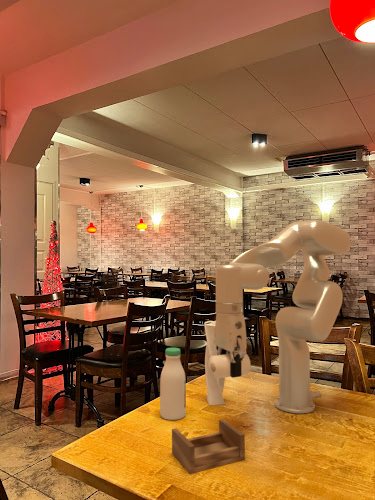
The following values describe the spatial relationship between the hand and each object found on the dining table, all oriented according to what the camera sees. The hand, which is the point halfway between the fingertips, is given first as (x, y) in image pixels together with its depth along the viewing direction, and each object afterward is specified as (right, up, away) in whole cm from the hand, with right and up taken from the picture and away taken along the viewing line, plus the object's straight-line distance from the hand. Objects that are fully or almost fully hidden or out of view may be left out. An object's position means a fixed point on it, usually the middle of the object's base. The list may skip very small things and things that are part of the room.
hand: (229, 372), depth 109 cm
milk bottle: (-16, -16, +9) cm, 24 cm away
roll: (0, -1, 0) cm, 1 cm away
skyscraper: (-2, -16, +20) cm, 26 cm away
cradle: (-7, -15, -15) cm, 23 cm away
